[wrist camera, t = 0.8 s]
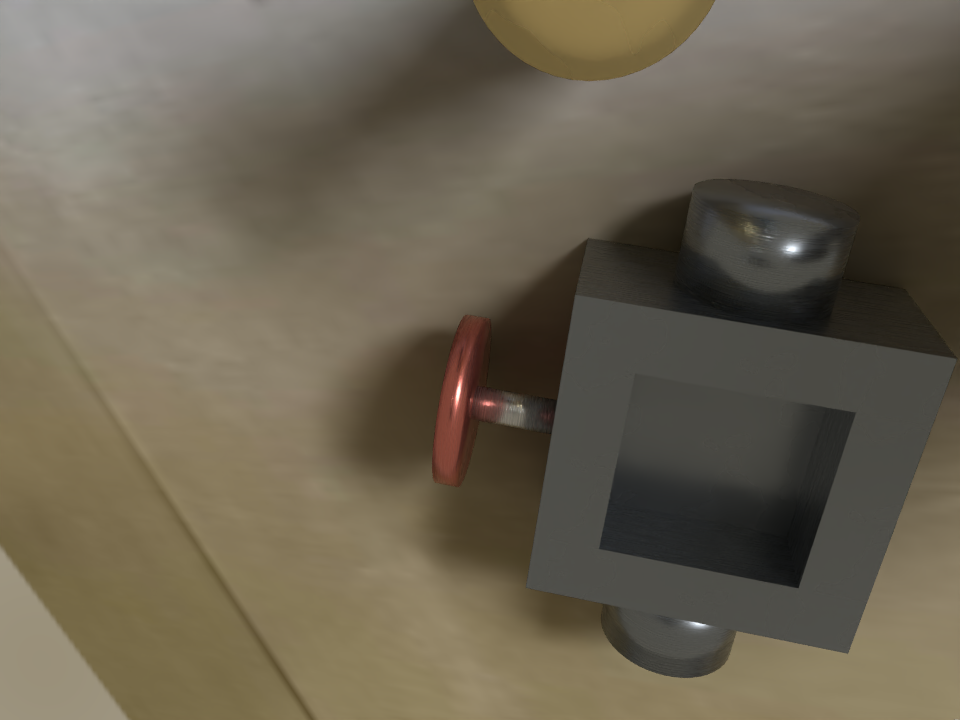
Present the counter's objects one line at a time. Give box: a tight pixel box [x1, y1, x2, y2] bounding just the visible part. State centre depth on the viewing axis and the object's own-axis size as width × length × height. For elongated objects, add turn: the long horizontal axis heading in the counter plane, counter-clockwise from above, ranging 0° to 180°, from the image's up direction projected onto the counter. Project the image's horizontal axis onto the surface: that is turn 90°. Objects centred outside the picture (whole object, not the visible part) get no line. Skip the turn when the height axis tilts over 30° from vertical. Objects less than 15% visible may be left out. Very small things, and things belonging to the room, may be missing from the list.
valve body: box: [432, 179, 957, 678], centre depth 32 cm, size 17×15×6 cm
